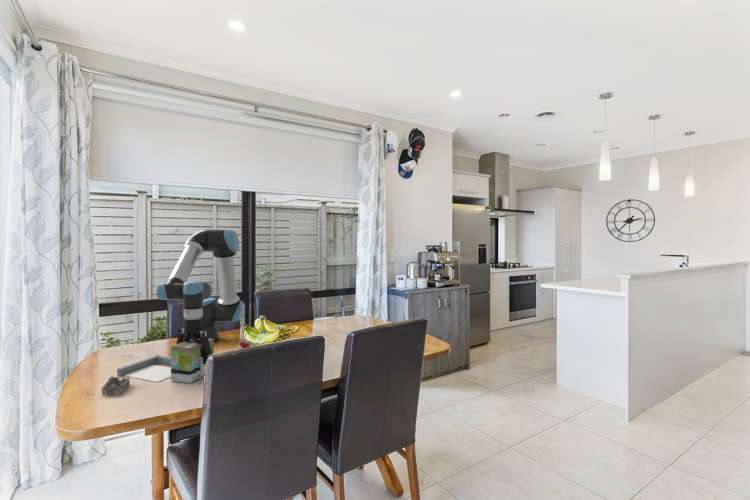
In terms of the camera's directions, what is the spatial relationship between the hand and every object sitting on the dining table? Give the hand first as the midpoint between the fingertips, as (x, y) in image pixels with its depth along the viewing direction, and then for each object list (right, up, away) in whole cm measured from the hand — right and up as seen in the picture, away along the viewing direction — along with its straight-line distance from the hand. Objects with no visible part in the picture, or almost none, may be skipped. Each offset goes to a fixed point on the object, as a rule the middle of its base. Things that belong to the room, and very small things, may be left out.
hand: (193, 369), depth 162 cm
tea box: (0, -3, 0) cm, 3 cm away
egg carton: (-22, -4, -15) cm, 27 cm away
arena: (-18, -2, +4) cm, 19 cm away
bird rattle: (+16, -3, +16) cm, 23 cm away
